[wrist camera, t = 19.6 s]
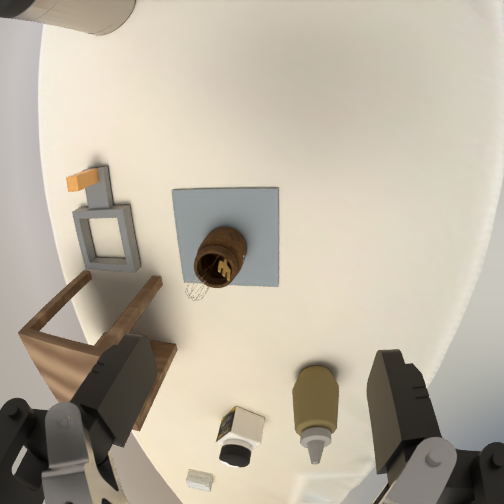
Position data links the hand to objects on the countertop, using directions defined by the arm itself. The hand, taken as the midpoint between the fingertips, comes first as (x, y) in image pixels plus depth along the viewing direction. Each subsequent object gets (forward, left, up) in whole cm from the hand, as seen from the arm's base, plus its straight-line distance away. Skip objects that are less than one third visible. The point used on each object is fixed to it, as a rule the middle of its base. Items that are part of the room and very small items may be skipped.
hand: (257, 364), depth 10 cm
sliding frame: (+5, -27, -30) cm, 40 cm away
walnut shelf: (+22, -27, -30) cm, 46 cm away
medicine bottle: (+50, -8, -30) cm, 59 cm away
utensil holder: (+9, -8, -30) cm, 32 cm away
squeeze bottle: (+34, +6, -30) cm, 46 cm away
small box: (+93, -24, -30) cm, 101 cm away
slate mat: (+8, -8, -30) cm, 32 cm away
